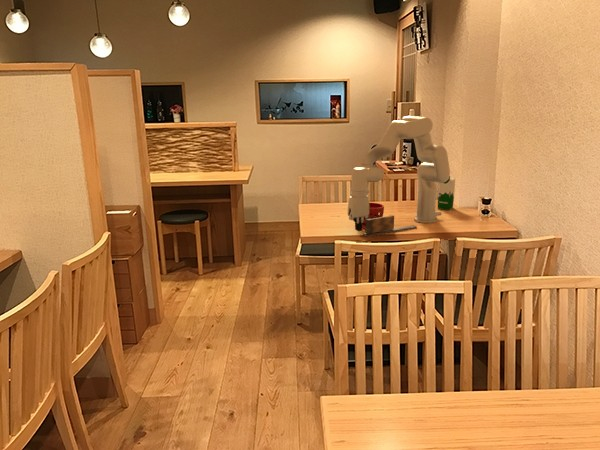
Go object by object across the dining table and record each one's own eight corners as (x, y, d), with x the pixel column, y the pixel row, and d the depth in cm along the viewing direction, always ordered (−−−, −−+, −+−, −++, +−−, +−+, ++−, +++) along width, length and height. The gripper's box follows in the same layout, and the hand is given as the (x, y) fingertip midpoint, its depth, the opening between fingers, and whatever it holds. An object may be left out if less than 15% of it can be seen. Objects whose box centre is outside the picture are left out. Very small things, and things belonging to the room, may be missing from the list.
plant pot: (370, 231, 252) (371, 209, 249) (352, 226, 262) (353, 204, 259) (388, 227, 260) (389, 205, 256) (370, 222, 270) (371, 200, 267)
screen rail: (412, 226, 260) (413, 224, 260) (416, 228, 257) (416, 226, 257) (363, 235, 246) (363, 233, 246) (366, 237, 244) (366, 235, 244)
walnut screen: (391, 228, 253) (392, 215, 251) (394, 229, 251) (395, 216, 249) (365, 232, 246) (365, 219, 244) (368, 234, 244) (368, 220, 242)
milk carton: (435, 209, 295) (437, 175, 290) (440, 205, 302) (442, 173, 297) (450, 210, 291) (452, 177, 285) (454, 207, 298) (457, 174, 292)
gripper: (367, 190, 244) (366, 226, 249) (341, 193, 237) (341, 230, 242) (376, 193, 237) (375, 230, 242) (350, 196, 231) (349, 234, 236)
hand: (358, 230), depth 242 cm, fingers closed
